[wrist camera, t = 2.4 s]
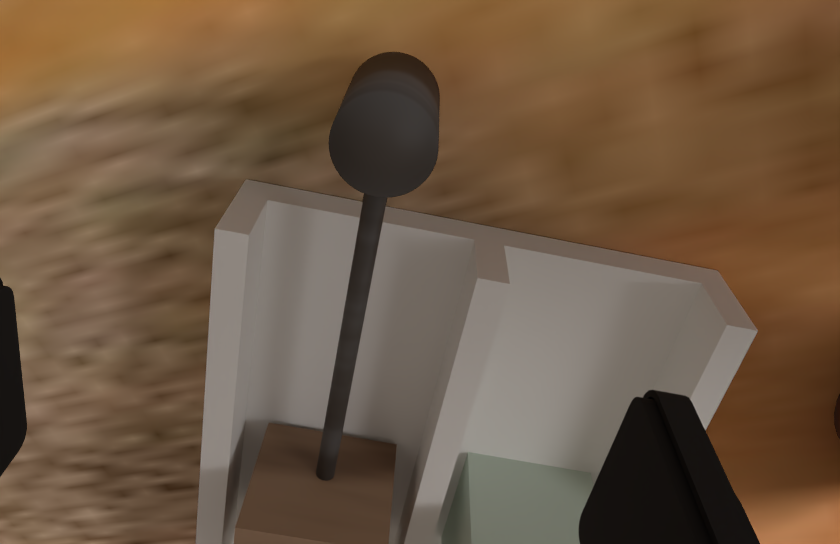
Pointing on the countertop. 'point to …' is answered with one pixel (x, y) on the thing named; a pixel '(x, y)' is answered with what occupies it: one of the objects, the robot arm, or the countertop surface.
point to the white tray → (443, 346)
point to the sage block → (516, 503)
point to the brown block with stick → (349, 326)
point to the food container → (837, 417)
